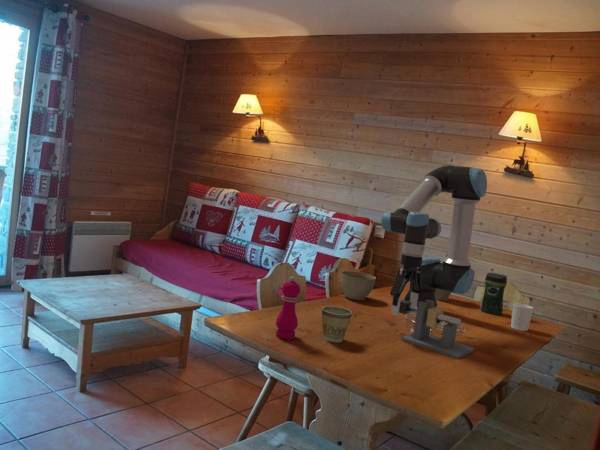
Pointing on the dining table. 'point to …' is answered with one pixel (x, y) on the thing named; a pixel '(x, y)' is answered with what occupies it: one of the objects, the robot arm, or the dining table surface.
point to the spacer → (434, 317)
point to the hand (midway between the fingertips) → (403, 312)
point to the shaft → (407, 308)
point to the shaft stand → (433, 342)
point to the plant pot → (442, 295)
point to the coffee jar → (494, 293)
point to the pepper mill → (288, 310)
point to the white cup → (521, 316)
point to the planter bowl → (357, 284)
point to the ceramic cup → (335, 322)
